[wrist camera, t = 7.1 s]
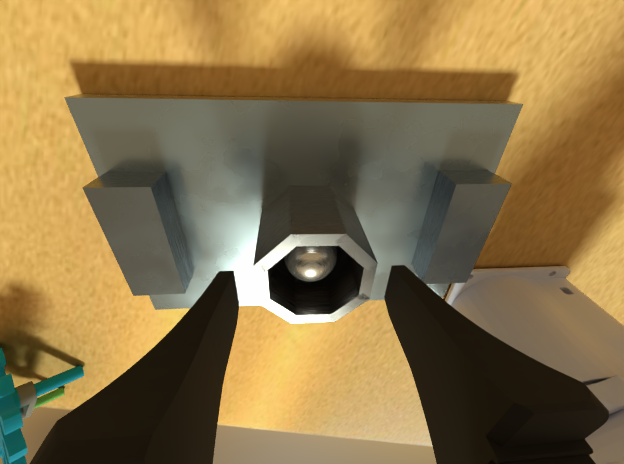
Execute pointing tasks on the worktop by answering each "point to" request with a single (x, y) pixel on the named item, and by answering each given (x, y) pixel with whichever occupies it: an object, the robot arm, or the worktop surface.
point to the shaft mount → (289, 183)
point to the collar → (312, 232)
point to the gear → (24, 407)
